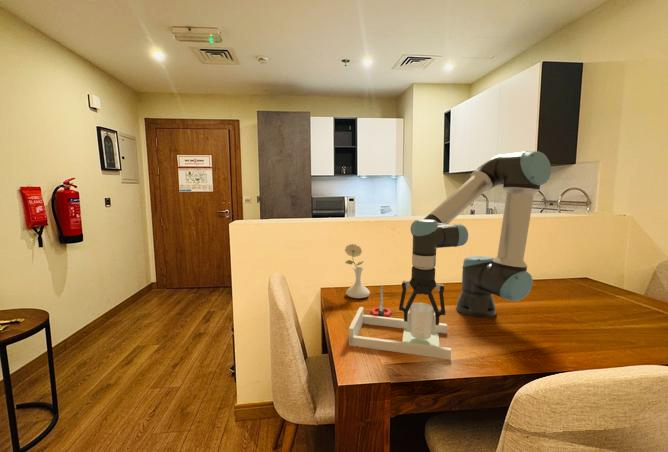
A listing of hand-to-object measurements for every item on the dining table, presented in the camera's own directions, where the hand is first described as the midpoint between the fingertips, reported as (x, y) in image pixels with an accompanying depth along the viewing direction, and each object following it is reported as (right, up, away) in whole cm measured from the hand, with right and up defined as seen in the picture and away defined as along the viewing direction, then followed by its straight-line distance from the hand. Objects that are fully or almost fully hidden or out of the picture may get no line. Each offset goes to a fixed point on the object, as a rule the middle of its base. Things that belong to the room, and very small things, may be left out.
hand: (420, 331), depth 108 cm
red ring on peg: (-10, 0, +24) cm, 26 cm away
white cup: (0, -1, 0) cm, 1 cm away
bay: (-7, -3, +2) cm, 8 cm away
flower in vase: (-19, +2, +44) cm, 48 cm away
